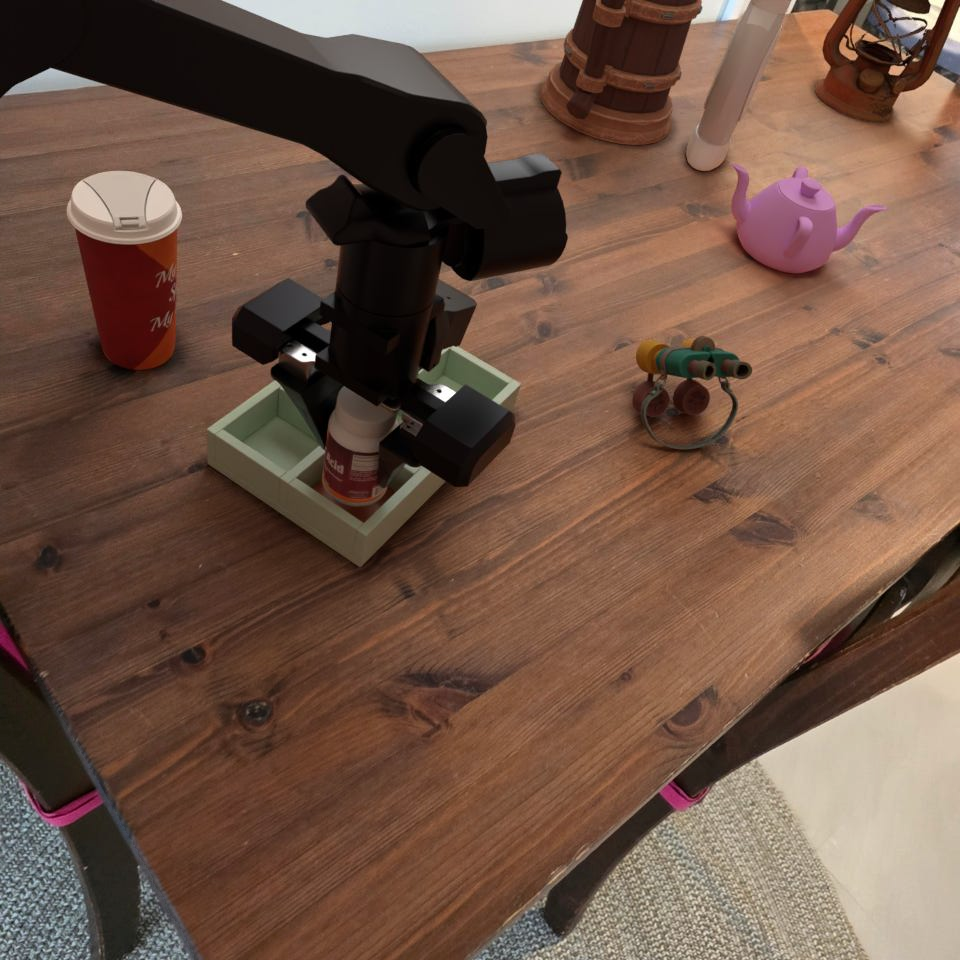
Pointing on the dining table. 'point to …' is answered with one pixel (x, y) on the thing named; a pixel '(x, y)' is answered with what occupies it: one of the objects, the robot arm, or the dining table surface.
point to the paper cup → (129, 263)
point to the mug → (621, 69)
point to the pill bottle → (355, 449)
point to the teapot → (792, 222)
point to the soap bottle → (736, 81)
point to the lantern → (880, 60)
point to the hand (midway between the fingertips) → (357, 465)
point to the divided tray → (299, 460)
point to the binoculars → (689, 395)
